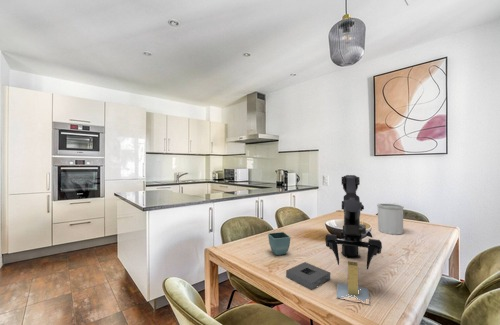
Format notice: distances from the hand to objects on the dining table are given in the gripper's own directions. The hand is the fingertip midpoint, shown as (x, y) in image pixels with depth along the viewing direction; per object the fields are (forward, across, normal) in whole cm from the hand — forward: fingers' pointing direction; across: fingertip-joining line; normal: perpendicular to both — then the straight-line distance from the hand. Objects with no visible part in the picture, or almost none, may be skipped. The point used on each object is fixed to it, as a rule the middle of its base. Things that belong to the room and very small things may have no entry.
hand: (352, 266), depth 79 cm
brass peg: (+7, 0, +6) cm, 9 cm away
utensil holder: (-54, +25, +68) cm, 90 cm away
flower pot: (-10, -33, +23) cm, 42 cm away
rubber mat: (+7, 0, +6) cm, 9 cm away
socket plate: (+3, -16, +9) cm, 19 cm away
